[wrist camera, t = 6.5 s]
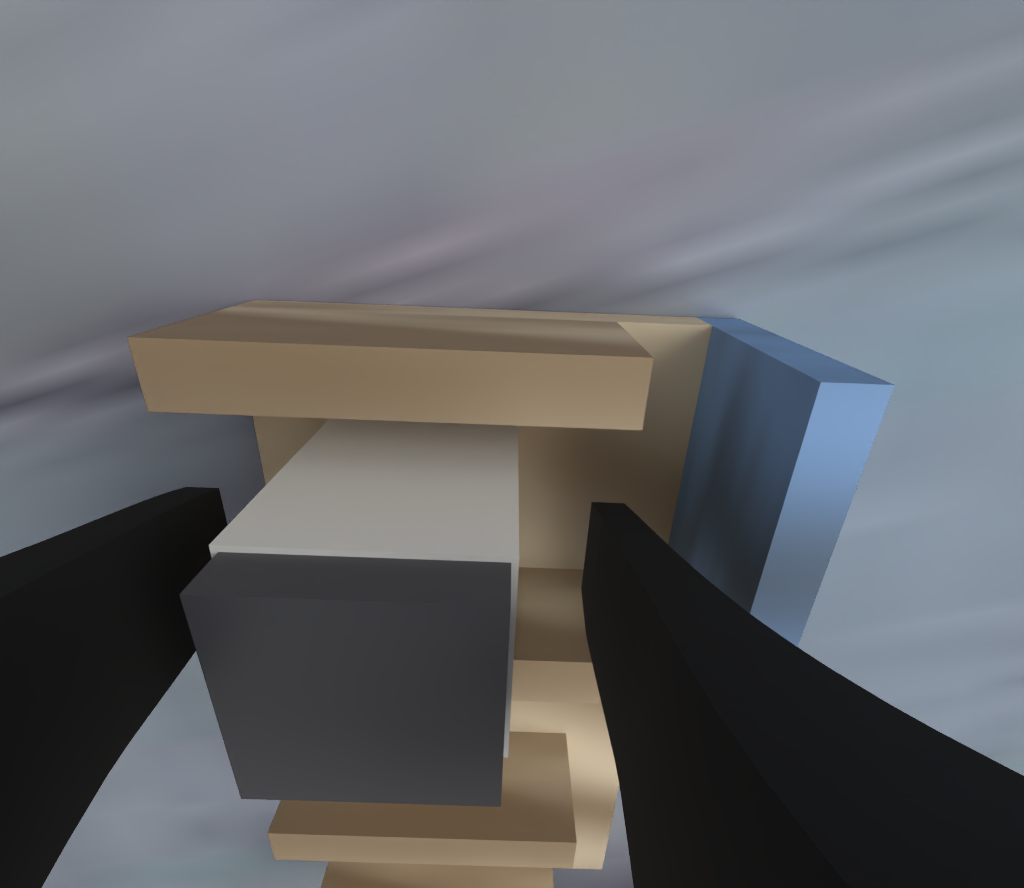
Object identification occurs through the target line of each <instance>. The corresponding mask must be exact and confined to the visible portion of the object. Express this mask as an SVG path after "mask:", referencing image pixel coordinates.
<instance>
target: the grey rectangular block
mask: <svg viewBox="0 0 1024 888" xmlns="http://www.w3.org/2000/svg"><path fill="white" fill-rule="evenodd" d="M209 549H210V553H211V557H212V559H211V560H210V561H209V562H208V563H207V565H206V566H205V567H204V568H203V569H202V570H201V571H200V572H199V573H198V574H197V576H196V577H195V578H194V579H193V580H192V581H191V582H190V583H189V584H188V585H187V587H186V588H185V589H184V590H183V591H182V592H181V593H180V594H179V595H180V599H181V602H182V605H183V609H184V612H185V615H186V618H187V622H188V625H189V628H190V632H191V635H192V638H193V641H194V645H195V648H196V651H197V655H198V658H199V661H200V665H201V668H202V671H203V674H204V678H205V681H206V684H207V688H208V691H209V694H210V697H211V701H212V704H213V707H214V711H215V714H216V717H217V721H218V724H219V727H220V730H221V734H222V737H223V740H224V744H225V747H226V750H227V754H228V757H229V760H230V763H231V767H232V770H233V773H234V777H235V780H236V783H237V786H238V790H239V793H240V796H241V799H267V800H298V801H330V802H361V803H392V804H424V805H455V806H486V807H501V793H502V773H503V757H505V758H508V752H509V734H510V715H511V697H512V679H513V661H514V643H515V625H516V607H517V589H518V571H519V477H518V426H514V425H488V424H462V423H435V422H409V421H382V420H356V419H329V420H328V421H327V422H326V423H325V424H324V425H323V426H322V427H321V428H320V429H319V430H318V431H317V432H316V433H315V434H314V435H313V436H312V438H311V439H310V440H309V441H308V442H307V443H306V444H305V445H304V446H303V447H302V448H301V449H300V450H299V451H298V452H297V453H296V454H295V455H294V456H293V457H292V458H291V459H290V461H289V462H288V463H287V464H286V465H285V466H284V467H283V468H282V469H281V470H280V471H279V472H278V473H277V474H276V475H275V476H274V477H273V478H272V479H271V480H270V481H269V482H268V484H267V485H266V486H265V487H264V488H263V489H262V490H261V491H260V492H259V493H258V494H257V495H256V496H255V497H254V498H253V499H252V500H251V501H250V502H249V503H248V504H247V506H246V507H245V508H244V509H243V510H242V511H241V512H240V513H239V514H238V515H237V516H236V517H235V518H234V519H233V520H232V521H231V522H230V523H229V524H228V525H227V526H226V527H225V529H224V530H223V531H222V532H221V533H220V534H219V535H218V536H217V537H216V538H215V539H214V540H213V541H212V542H211V543H210V544H209Z"/></svg>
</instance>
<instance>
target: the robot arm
mask: <svg viewBox="0 0 1024 888" xmlns="http://www.w3.org/2000/svg"><path fill="white" fill-rule="evenodd" d="M226 526H227V521H226V517H225V512H224V508H223V504H222V500H221V495H220V491H219V488H197V487H185V488H181V489H178V490H174V491H171V492H168V493H165V494H162V495H159V496H156V497H153V498H151V499H148V500H145V501H143V502H140V503H137V504H135V505H132V506H130V507H127V508H124V509H122V510H119V511H117V512H114V513H112V514H109V515H107V516H104V517H102V518H99V519H97V520H94V521H92V522H89V523H87V524H84V525H82V526H79V527H77V528H75V529H72V530H70V531H67V532H65V533H62V534H60V535H57V536H55V537H52V538H50V539H47V540H45V541H42V542H39V543H37V544H34V545H31V546H29V547H26V548H24V549H21V550H18V551H16V552H13V553H10V554H8V555H5V556H2V557H0V888H42V886H43V884H44V882H45V880H46V879H47V877H48V875H49V873H50V872H51V870H52V868H53V866H54V864H55V863H56V861H57V859H58V857H59V856H60V854H61V852H62V850H63V849H64V847H65V845H66V843H67V842H68V840H69V838H70V837H71V835H72V833H73V832H74V830H75V828H76V827H77V825H78V823H79V822H80V820H81V818H82V817H83V815H84V813H85V812H86V810H87V808H88V807H89V805H90V803H91V802H92V800H93V798H94V797H95V795H96V793H97V792H98V790H99V788H100V787H101V785H102V783H103V782H104V780H105V778H106V777H107V775H108V773H109V772H110V770H111V769H112V767H113V766H114V764H115V763H116V761H117V760H118V758H119V757H120V755H121V754H122V753H123V751H124V750H125V748H126V747H127V745H128V744H129V742H130V741H131V739H132V738H133V737H134V735H135V734H136V733H137V731H138V730H139V728H140V727H141V726H142V724H143V723H144V722H145V720H146V719H147V717H148V716H149V715H150V713H151V712H152V711H153V709H154V708H155V706H156V705H157V704H158V702H159V701H160V700H161V698H162V697H163V695H164V694H165V693H166V691H167V690H168V689H169V687H170V686H171V684H172V683H173V682H174V680H175V679H176V678H177V676H178V675H179V673H180V672H181V671H182V669H183V668H184V667H185V665H186V664H187V662H188V661H189V660H190V658H191V657H192V655H193V654H194V653H195V651H196V648H195V645H194V641H193V638H192V635H191V632H190V628H189V625H188V622H187V618H186V615H185V612H184V609H183V605H182V602H181V599H180V595H179V594H180V593H181V592H182V591H183V590H184V589H185V588H186V587H187V585H188V584H189V583H190V582H191V581H192V580H193V579H194V578H195V577H196V576H197V574H198V573H199V572H200V571H201V570H202V569H203V568H204V567H205V566H206V565H207V563H208V562H209V561H210V560H211V559H212V557H211V553H210V549H209V544H210V543H211V542H212V541H213V540H214V539H215V538H216V537H217V536H218V535H219V534H220V533H221V532H222V531H223V530H224V529H225V527H226ZM581 592H582V602H583V612H584V621H585V629H586V638H587V642H588V647H589V651H590V656H591V660H592V664H593V669H594V673H595V678H596V682H597V686H598V691H599V695H600V699H601V703H602V708H603V712H604V716H605V721H606V725H607V729H608V733H609V738H610V742H611V746H612V751H613V755H614V759H615V764H616V770H617V775H618V780H619V785H620V791H621V798H622V805H623V812H624V819H625V826H626V833H627V840H628V847H629V855H630V862H631V870H632V877H633V885H634V888H1024V776H1023V775H1021V774H1019V773H1017V772H1015V771H1013V770H1011V769H1009V768H1007V767H1005V766H1003V765H1001V764H999V763H997V762H996V761H994V760H992V759H990V758H988V757H986V756H984V755H982V754H980V753H978V752H976V751H975V750H973V749H971V748H969V747H967V746H965V745H963V744H961V743H959V742H957V741H955V740H954V739H952V738H950V737H948V736H946V735H944V734H942V733H940V732H938V731H936V730H935V729H933V728H931V727H929V726H927V725H926V724H924V723H922V722H920V721H918V720H917V719H915V718H913V717H911V716H910V715H908V714H906V713H904V712H902V711H901V710H899V709H897V708H895V707H893V706H892V705H890V704H888V703H886V702H885V701H883V700H882V699H880V698H878V697H877V696H875V695H873V694H872V693H870V692H868V691H867V690H865V689H863V688H862V687H860V686H858V685H857V684H855V683H853V682H852V681H850V680H848V679H847V678H845V677H843V676H842V675H840V674H838V673H837V672H835V671H833V670H832V669H830V668H829V667H827V666H825V665H824V664H822V663H821V662H819V661H818V660H816V659H815V658H813V657H811V656H810V655H808V654H807V653H805V652H804V651H802V650H801V649H799V648H798V647H797V646H795V645H794V644H792V643H791V642H789V641H788V640H787V639H785V638H784V637H782V636H781V635H779V634H778V633H776V632H775V631H774V630H772V629H771V628H769V627H768V626H766V625H765V624H763V623H762V622H761V621H759V620H758V619H757V618H755V617H754V616H753V615H751V614H750V613H749V612H747V611H746V610H745V609H743V608H742V607H741V606H739V605H738V604H737V603H736V602H734V601H733V600H732V599H731V598H729V597H728V596H727V595H726V594H724V593H723V592H722V591H721V590H720V589H718V588H717V587H716V586H715V585H713V584H712V583H711V582H710V581H708V580H707V579H706V578H705V577H704V576H703V575H701V574H700V573H699V572H698V571H697V570H696V569H694V568H693V567H692V566H691V565H690V564H689V563H688V562H687V561H685V560H684V559H683V558H682V557H681V556H680V555H679V554H678V553H677V552H676V551H674V550H673V549H672V548H671V547H670V546H669V545H668V544H667V543H666V542H665V541H664V540H663V539H662V538H661V537H659V536H658V535H657V534H656V533H655V532H654V531H653V530H652V529H651V528H650V527H649V526H648V525H647V524H646V523H645V522H644V521H643V520H642V519H641V518H640V517H639V516H638V515H637V514H635V513H634V512H633V511H632V510H631V509H630V508H629V507H628V506H627V505H626V504H624V503H607V502H592V503H591V511H590V520H589V528H588V536H587V544H586V553H585V561H584V569H583V578H582V586H581Z"/></svg>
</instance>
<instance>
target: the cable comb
mask: <svg viewBox="0 0 1024 888" xmlns="http://www.w3.org/2000/svg"><path fill="white" fill-rule="evenodd" d="M127 340H128V343H129V347H130V350H131V354H132V357H133V361H134V364H135V368H136V371H137V375H138V378H139V382H140V385H141V389H142V392H143V396H144V400H145V403H146V407H147V410H148V412H172V413H198V414H224V415H251V416H253V421H254V426H255V432H256V437H257V442H258V447H259V453H260V458H261V463H262V468H263V474H264V479H265V484H266V485H267V484H268V482H269V481H270V480H271V479H272V478H273V477H274V476H275V475H276V474H277V473H278V472H279V471H280V470H281V469H282V468H283V467H284V466H285V465H286V464H287V463H288V462H289V461H290V459H291V458H292V457H293V456H294V455H295V454H296V453H297V452H298V451H299V450H300V449H301V448H302V447H303V446H304V445H305V444H306V443H307V442H308V441H309V440H310V439H311V438H312V436H313V435H314V434H315V433H316V432H317V431H318V430H319V429H320V428H321V427H322V426H323V425H324V424H325V423H326V422H327V421H328V420H329V419H356V420H382V421H409V422H435V423H462V424H488V425H514V426H518V477H519V571H518V589H517V607H516V625H515V643H514V661H513V679H512V697H511V715H510V734H509V752H508V758H505V757H503V773H502V793H501V807H486V806H455V805H424V804H392V803H361V802H330V801H298V800H281V801H280V804H279V806H278V809H277V811H276V813H275V816H274V818H273V821H272V823H271V826H270V828H269V831H268V833H267V834H268V837H269V841H270V844H271V848H272V851H273V855H274V858H275V860H304V861H329V862H328V865H327V869H326V872H325V876H324V879H323V883H322V886H321V888H554V883H553V868H571V869H602V867H603V862H604V857H605V852H606V847H607V842H608V838H609V833H610V828H611V823H612V818H613V813H614V808H615V803H616V798H617V793H618V788H619V780H618V775H617V770H616V764H615V759H614V755H613V751H612V746H611V742H610V738H609V733H608V729H607V725H606V721H605V716H604V712H603V708H602V703H601V699H600V695H599V691H598V686H597V682H596V678H595V673H594V669H593V664H592V660H591V656H590V651H589V647H588V642H587V638H586V629H585V621H584V612H583V602H582V592H581V586H582V578H583V569H584V561H585V553H586V544H587V536H588V528H589V520H590V511H591V503H592V502H607V503H624V504H626V505H627V506H628V507H629V508H630V509H631V510H632V511H633V512H634V513H635V514H637V515H638V516H639V517H640V518H641V519H642V520H643V521H644V522H645V523H646V524H647V525H648V526H649V527H650V528H651V529H652V530H653V531H654V532H655V533H656V534H657V535H658V536H659V537H661V538H662V539H663V540H664V541H665V542H666V543H667V544H668V545H669V546H670V547H671V548H672V549H673V550H674V551H676V552H677V553H678V554H679V555H680V556H681V557H682V558H683V559H684V560H685V561H687V562H688V563H689V564H690V565H691V566H692V567H693V568H694V569H696V570H697V571H698V572H699V573H700V574H701V575H703V576H704V577H705V578H706V579H707V580H708V581H710V582H711V583H712V584H713V585H715V586H716V587H717V588H718V589H720V590H721V591H722V592H723V593H724V594H726V595H727V596H728V597H729V598H731V599H732V600H733V601H734V602H736V603H737V604H738V605H739V606H741V607H742V608H743V609H745V610H746V611H747V612H749V613H750V614H751V615H753V616H754V617H755V618H757V619H758V620H759V621H761V622H762V623H763V624H765V625H766V626H768V627H769V628H771V629H772V630H774V631H775V632H776V633H778V634H779V635H781V636H782V637H784V638H785V639H787V640H788V641H789V642H791V643H792V644H794V645H795V646H798V644H799V641H800V638H801V636H802V633H803V630H804V628H805V625H806V622H807V620H808V617H809V614H810V612H811V609H812V606H813V603H814V601H815V598H816V595H817V593H818V590H819V587H820V585H821V582H822V579H823V577H824V574H825V571H826V569H827V566H828V563H829V560H830V558H831V555H832V552H833V550H834V547H835V544H836V542H837V539H838V536H839V534H840V531H841V528H842V525H843V523H844V520H845V517H846V515H847V512H848V509H849V507H850V504H851V501H852V499H853V496H854V493H855V491H856V488H857V485H858V482H859V480H860V477H861V474H862V472H863V469H864V466H865V464H866V461H867V458H868V456H869V453H870V450H871V447H872V445H873V442H874V439H875V437H876V434H877V431H878V429H879V426H880V423H881V421H882V418H883V415H884V413H885V410H886V407H887V404H888V402H889V399H890V396H891V394H892V391H893V388H894V386H895V385H893V384H891V383H889V382H886V381H884V380H882V379H879V378H877V377H875V376H872V375H870V374H868V373H865V372H863V371H860V370H858V369H856V368H853V367H851V366H849V365H846V364H844V363H842V362H839V361H837V360H835V359H832V358H830V357H828V356H825V355H823V354H821V353H818V352H816V351H814V350H811V349H809V348H807V347H804V346H802V345H800V344H797V343H795V342H792V341H790V340H788V339H785V338H783V337H781V336H778V335H776V334H774V333H771V332H769V331H767V330H764V329H762V328H760V327H757V326H755V325H753V324H750V323H748V322H746V321H743V320H741V319H723V318H698V317H673V316H648V315H623V314H599V313H574V312H549V311H524V310H499V309H474V308H449V307H424V306H399V305H374V304H349V303H324V302H299V301H274V300H252V301H249V302H246V303H242V304H239V305H235V306H232V307H228V308H225V309H222V310H218V311H215V312H211V313H208V314H205V315H201V316H198V317H194V318H191V319H187V320H184V321H181V322H177V323H174V324H170V325H167V326H163V327H160V328H157V329H153V330H150V331H146V332H143V333H139V334H136V335H133V336H129V337H127Z"/></svg>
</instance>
